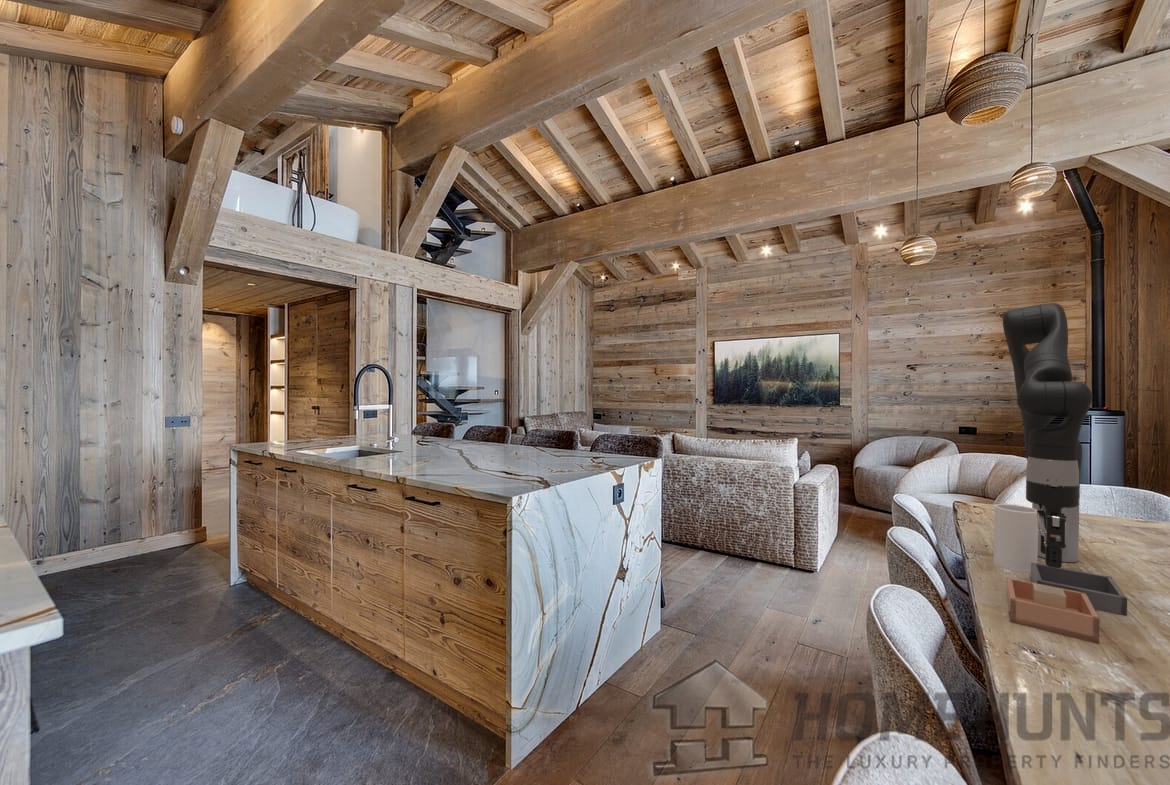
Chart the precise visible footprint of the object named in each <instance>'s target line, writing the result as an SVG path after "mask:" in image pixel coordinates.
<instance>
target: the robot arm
mask: <svg viewBox="0 0 1170 785" xmlns="http://www.w3.org/2000/svg"><path fill="white" fill-rule="evenodd" d="M1068 326H1069V325H1068V319H1067V314H1066V312H1065V309H1064V307H1062V305H1061V304H1060V303H1057V302H1050V303H1049V302H1047V303H1040V304H1036V305H1029V306H1024V307H1019V308H1015V309H1009V310H1007V311H1006V312H1005V313H1004V314H1003V316H1002V327H1003V328H1002V329H1003V333H1004V337H1005V340H1006V345H1007V348H1008V352H1009V355H1010V359H1011V363H1012V368H1013V373H1014V374H1013V375H1014V383H1015V392H1016V396H1017V397H1016V404H1017V407H1018V408H1019V410H1020V414H1021V419H1022V425H1023V436H1024V447H1025V448H1024V450H1025V457H1026V469H1025V472H1026V473H1025V476H1026V477H1025V499H1026V501H1028V502H1029V503H1031V506H1032V507H1031V508H1034V509H1036V510H1037V518H1038V520H1037V524H1038V556H1037V557H1039V558H1043V559H1044V563H1045V565H1047V566H1050V567H1055V568H1063V567H1062V563H1076V562H1077V563H1078V562H1079V548H1080V546H1079V544H1080V542H1079V541H1080V495H1081V492H1080V491H1081V488H1080V487H1081V484H1080V483H1081V468H1082V460H1083V445H1082V443H1081V442H1080V440H1079V436H1080V431H1081V428H1082V425H1083V423H1084V421H1085V419H1086V416H1087V414H1088V412H1089V410H1090V407H1091V405H1092V402H1093V393H1092V390H1091V389H1090V388H1089V387H1088V386H1087V385H1086V384H1085V383H1083V382H1081V381H1080V382H1079V381H1072V380H1073V373H1072V369H1071V365H1070V362H1069V357H1068V347H1069V327H1068ZM1033 344H1036V345H1035V346H1033V347H1032V349H1028V347H1027V345H1033ZM1057 417H1058V418H1059V417H1060V418H1061V417H1063V420H1062V422H1060V423H1059V424H1056V425H1053V426H1048V425H1049V424H1050V423H1051V422H1052V421H1053V420H1055V419H1056V418H1057ZM1047 426H1048V427H1047Z"/></svg>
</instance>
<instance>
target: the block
mask: <svg viewBox="0 0 1170 785" xmlns="http://www.w3.org/2000/svg"><path fill="white" fill-rule="evenodd" d="M1032 583H1033V582H1032ZM1032 603H1036V604H1041V605H1045V606H1050V607H1054V608H1059V609H1064V610H1066V595H1065V593H1064V591H1063V589H1060V588H1055V587H1050V586H1045V585H1040V584H1035V583H1033V594H1032Z"/></svg>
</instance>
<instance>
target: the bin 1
mask: <svg viewBox="0 0 1170 785" xmlns="http://www.w3.org/2000/svg"><path fill="white" fill-rule="evenodd" d="M1035 584H1037V583H1035ZM1040 585H1042V584H1040ZM1045 586H1047V585H1045ZM1050 587H1052V586H1050ZM1055 588H1057V587H1055ZM1060 589H1062V588H1060ZM1063 591H1064V593H1065V595H1066V610H1064V609H1059V608H1054V607H1050V606H1045V605H1041V604H1036V603H1032V594H1033V582H1032V581H1027V580H1023V579H1016V578H1012V577H1006V598H1007V604H1008V616H1009V622H1011V623H1013V624H1019V625H1023V626H1027V627H1031V628H1035V629H1038V630H1039V629H1040V630H1043V631H1047V632H1051V633H1056V634H1059V635H1064V636H1067V637H1072V638H1076V639H1080V640H1083V641H1088V642H1093V643H1097V644H1100V625H1101V624H1100V622H1101V620H1100V617H1099V614H1098V613H1097V611H1096V609H1094V608H1093V606H1092V604H1091V602H1090V600H1089V599H1088V597H1087V595H1086V593H1082V592H1077V591H1072V590H1067V589H1063Z"/></svg>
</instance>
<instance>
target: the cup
mask: <svg viewBox="0 0 1170 785" xmlns="http://www.w3.org/2000/svg"><path fill="white" fill-rule="evenodd" d="M993 519H994V524H993V525H994V526H993V530H994V531H993V563H994V565H996V566H998V567H1001V568H1003V569H1006V570H1011V571H1015V572H1022V573H1031V563H1037V564H1038V557H1039V556H1038V524H1037V520H1038V518H1037V510H1036V509H1034V508H1032V507H1029V506H1025V505H1020V504H1019V505H1018V504H1012V503H1011V504H1010V503H1009V504H1008V503H996V504H994V518H993Z"/></svg>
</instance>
